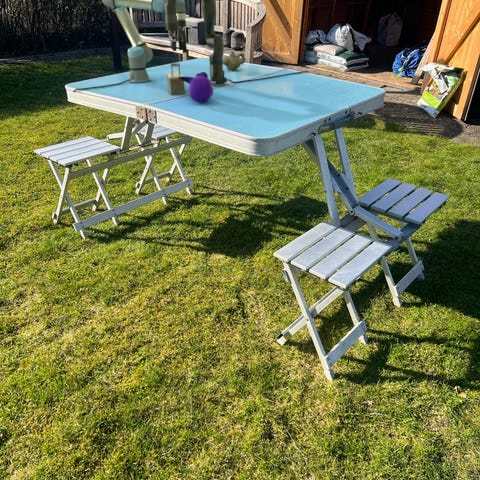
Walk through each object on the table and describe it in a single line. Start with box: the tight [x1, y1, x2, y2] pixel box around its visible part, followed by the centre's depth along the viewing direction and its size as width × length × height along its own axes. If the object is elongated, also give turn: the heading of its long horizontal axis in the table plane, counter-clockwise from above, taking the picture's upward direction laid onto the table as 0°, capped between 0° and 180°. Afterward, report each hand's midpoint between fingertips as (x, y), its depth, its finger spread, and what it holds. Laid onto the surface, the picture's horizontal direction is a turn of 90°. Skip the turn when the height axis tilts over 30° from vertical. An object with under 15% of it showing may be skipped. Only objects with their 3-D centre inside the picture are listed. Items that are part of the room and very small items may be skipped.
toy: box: [178, 71, 214, 104], centre depth 278 cm, size 16×18×27 cm
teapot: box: [223, 50, 246, 71], centre depth 368 cm, size 21×12×15 cm, turn 120°
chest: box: [166, 74, 186, 96], centre depth 302 cm, size 16×9×10 cm, turn 14°
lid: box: [166, 62, 185, 79], centre depth 297 cm, size 17×9×9 cm, turn 14°
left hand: (182, 51), depth 336 cm, fingers open, 13 cm apart
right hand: (173, 50), depth 286 cm, fingers open, 8 cm apart
